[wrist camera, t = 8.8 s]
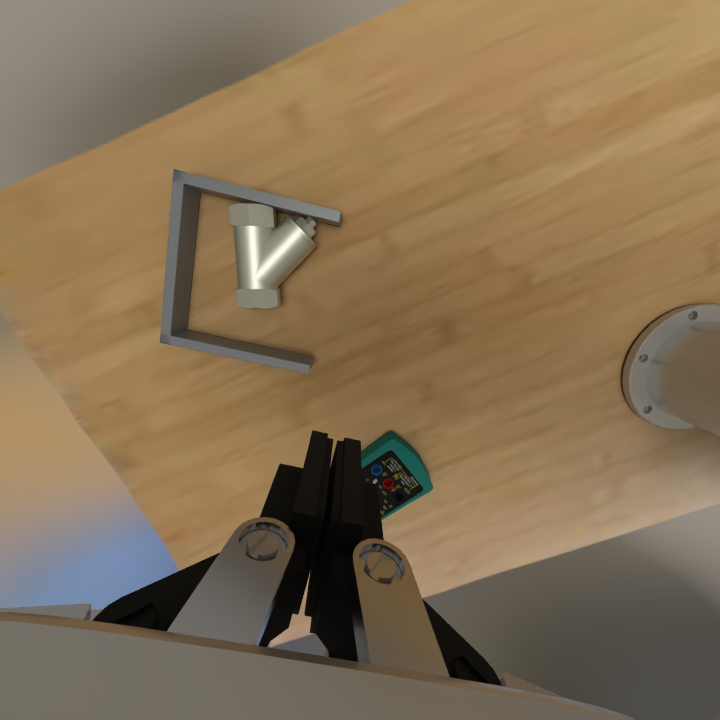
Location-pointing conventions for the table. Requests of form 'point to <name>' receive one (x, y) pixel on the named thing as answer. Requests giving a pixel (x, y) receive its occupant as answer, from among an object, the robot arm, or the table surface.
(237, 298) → the pipe fitting
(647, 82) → the table surface
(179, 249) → the gray u-shaped frame
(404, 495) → the digital multimeter
